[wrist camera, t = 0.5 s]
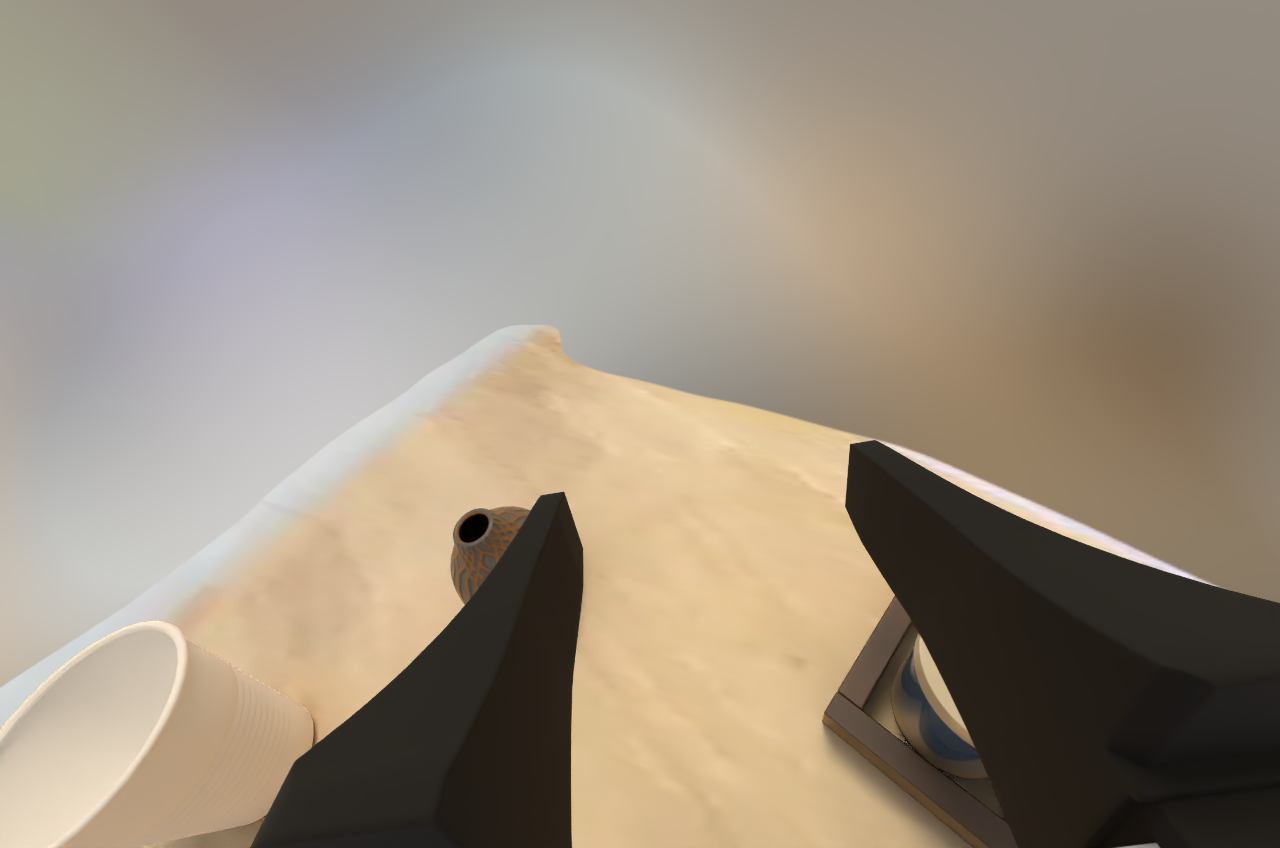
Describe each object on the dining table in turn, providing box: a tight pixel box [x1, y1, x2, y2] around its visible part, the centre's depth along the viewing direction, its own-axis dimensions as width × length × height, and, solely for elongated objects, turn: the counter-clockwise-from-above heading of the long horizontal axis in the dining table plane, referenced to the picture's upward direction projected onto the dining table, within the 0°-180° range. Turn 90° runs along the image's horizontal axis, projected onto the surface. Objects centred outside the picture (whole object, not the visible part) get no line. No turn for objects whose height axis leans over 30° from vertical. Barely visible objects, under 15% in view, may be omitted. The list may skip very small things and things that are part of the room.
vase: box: [451, 507, 530, 605], centre depth 29 cm, size 7×7×9 cm
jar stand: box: [822, 596, 1018, 848], centre depth 20 cm, size 9×16×2 cm, turn 46°
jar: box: [891, 633, 988, 779], centre depth 20 cm, size 6×6×8 cm
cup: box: [0, 621, 314, 848], centre depth 25 cm, size 10×10×11 cm
